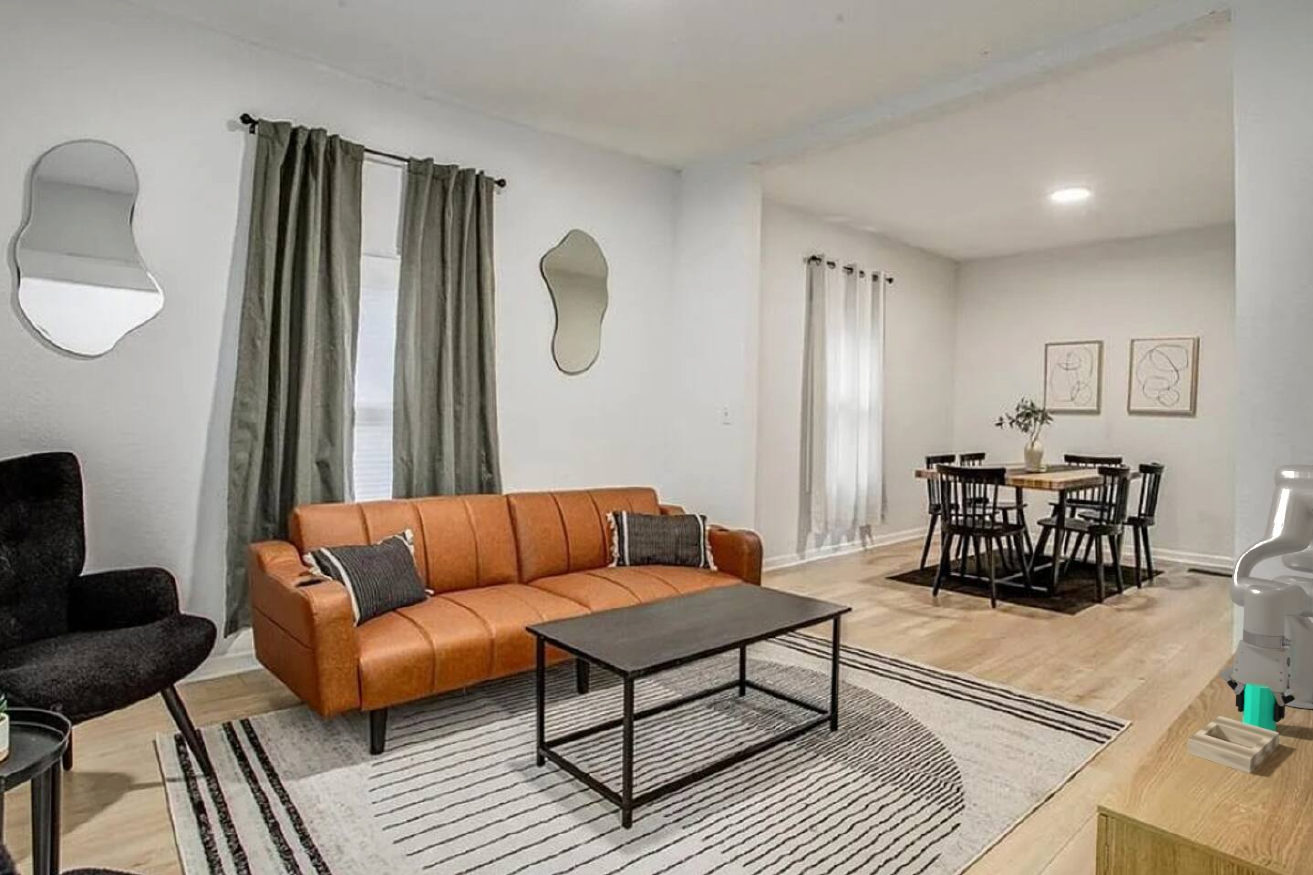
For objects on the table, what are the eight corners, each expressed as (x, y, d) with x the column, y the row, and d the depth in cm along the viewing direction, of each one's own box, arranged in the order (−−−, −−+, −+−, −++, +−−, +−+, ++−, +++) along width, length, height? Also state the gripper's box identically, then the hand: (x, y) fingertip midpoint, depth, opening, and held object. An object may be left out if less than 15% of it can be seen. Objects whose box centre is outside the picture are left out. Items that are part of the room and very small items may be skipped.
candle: (1281, 734, 173) (1284, 683, 172) (1251, 732, 174) (1254, 681, 173) (1265, 723, 178) (1268, 673, 178) (1237, 721, 180) (1239, 671, 179)
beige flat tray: (1218, 728, 176) (1219, 715, 175) (1278, 745, 167) (1279, 732, 167) (1187, 752, 164) (1187, 739, 163) (1249, 773, 155) (1250, 759, 155)
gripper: (1315, 646, 170) (1311, 724, 171) (1223, 627, 184) (1220, 699, 185) (1306, 653, 166) (1302, 733, 167) (1213, 633, 180) (1209, 707, 181)
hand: (1259, 714), depth 176 cm, fingers open, 6 cm apart
